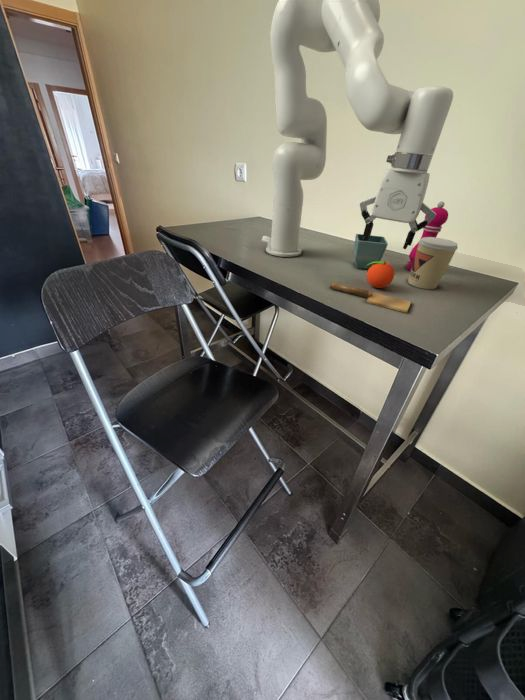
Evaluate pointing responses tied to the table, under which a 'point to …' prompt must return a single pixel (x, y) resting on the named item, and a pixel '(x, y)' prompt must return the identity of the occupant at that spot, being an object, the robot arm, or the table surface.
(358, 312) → the table surface
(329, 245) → the table surface
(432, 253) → the coffee cup
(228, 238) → the table surface
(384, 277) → the clementine
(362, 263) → the flower pot
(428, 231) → the pepper mill
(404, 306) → the spatula
